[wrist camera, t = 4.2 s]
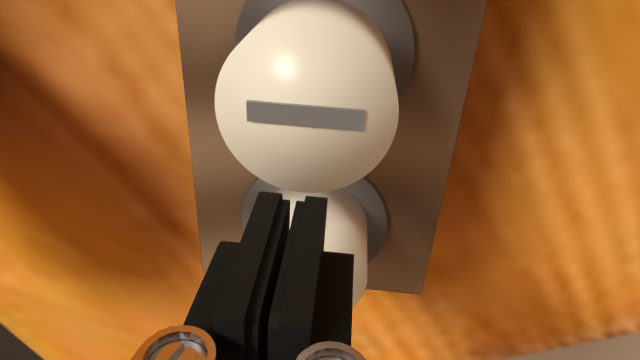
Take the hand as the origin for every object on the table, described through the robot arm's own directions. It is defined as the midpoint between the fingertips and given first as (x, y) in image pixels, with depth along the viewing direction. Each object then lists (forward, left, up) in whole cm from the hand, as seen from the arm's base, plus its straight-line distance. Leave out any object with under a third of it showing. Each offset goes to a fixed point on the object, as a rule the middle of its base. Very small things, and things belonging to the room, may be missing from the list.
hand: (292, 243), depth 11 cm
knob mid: (-3, 0, -5) cm, 5 cm away
